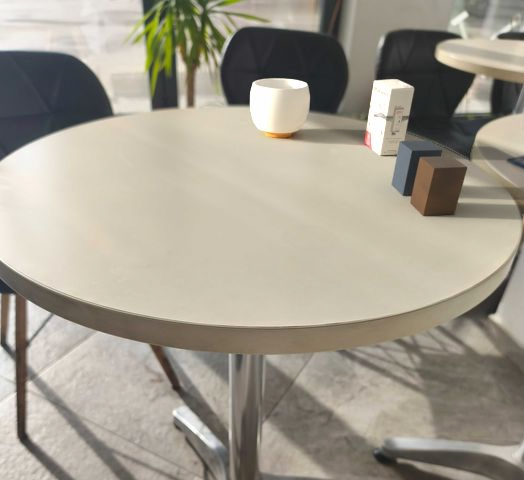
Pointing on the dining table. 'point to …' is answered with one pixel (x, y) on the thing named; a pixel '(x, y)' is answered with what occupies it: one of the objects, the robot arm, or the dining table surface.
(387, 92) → the ink box
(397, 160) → the slate block
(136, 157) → the dining table surface
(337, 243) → the dining table surface
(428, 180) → the walnut block
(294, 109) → the cup
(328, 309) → the dining table surface
